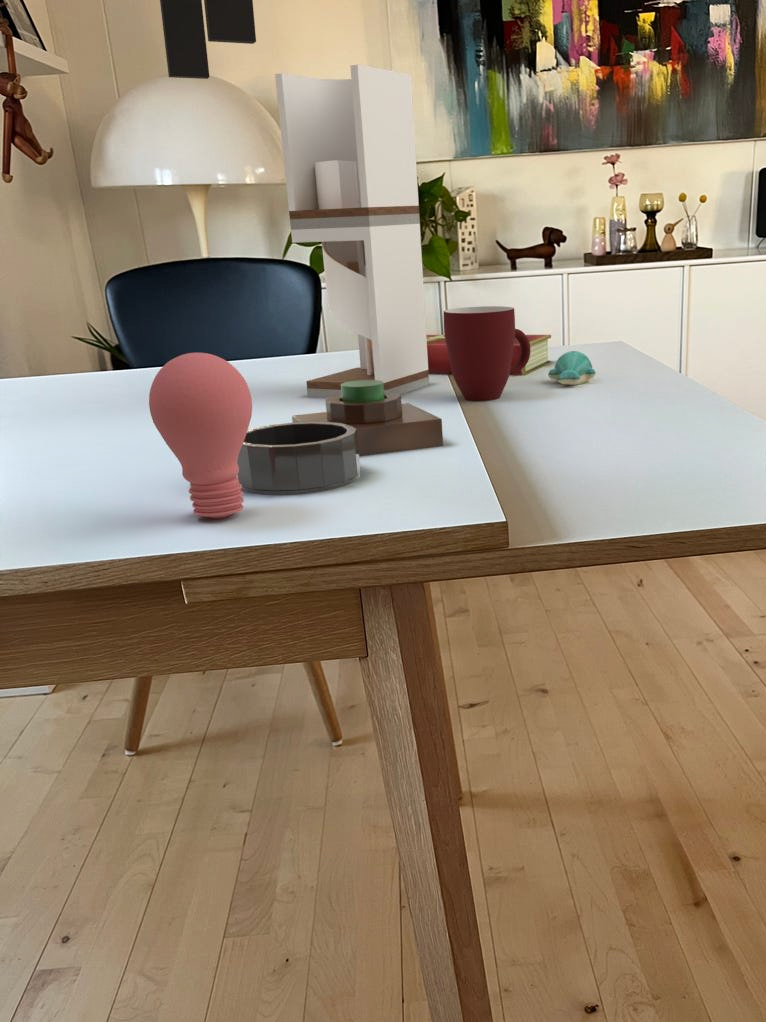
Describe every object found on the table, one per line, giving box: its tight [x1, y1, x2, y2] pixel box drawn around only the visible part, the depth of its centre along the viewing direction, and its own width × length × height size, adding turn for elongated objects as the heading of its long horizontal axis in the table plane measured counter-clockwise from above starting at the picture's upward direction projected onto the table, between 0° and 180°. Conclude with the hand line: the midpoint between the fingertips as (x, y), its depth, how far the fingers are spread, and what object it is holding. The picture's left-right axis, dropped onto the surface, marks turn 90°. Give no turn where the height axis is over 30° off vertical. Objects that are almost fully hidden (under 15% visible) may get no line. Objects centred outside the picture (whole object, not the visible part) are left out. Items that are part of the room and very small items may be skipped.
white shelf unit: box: [274, 64, 430, 399], centre depth 123 cm, size 11×11×35 cm
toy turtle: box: [548, 350, 597, 386], centre depth 128 cm, size 6×7×4 cm
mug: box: [443, 305, 530, 402], centre depth 120 cm, size 10×8×10 cm
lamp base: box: [291, 392, 444, 457], centre depth 99 cm, size 12×10×4 cm
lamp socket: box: [236, 422, 361, 496], centre depth 87 cm, size 10×10×4 cm
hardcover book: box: [426, 334, 552, 376], centre depth 144 cm, size 12×21×4 cm, turn 69°
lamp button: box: [341, 380, 385, 402], centre depth 98 cm, size 4×4×2 cm
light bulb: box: [148, 352, 253, 520], centre depth 75 cm, size 7×7×12 cm
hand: (208, 61), depth 68 cm, fingers open, 13 cm apart
